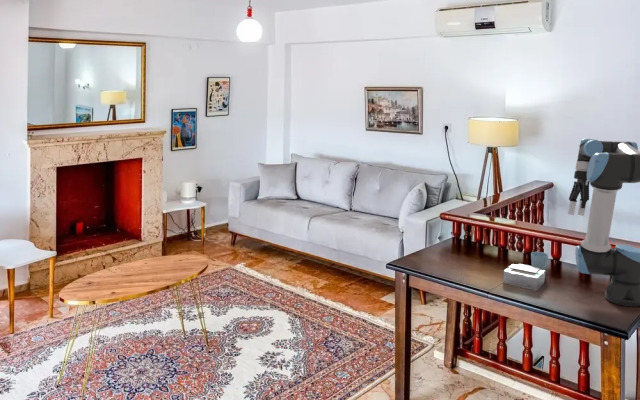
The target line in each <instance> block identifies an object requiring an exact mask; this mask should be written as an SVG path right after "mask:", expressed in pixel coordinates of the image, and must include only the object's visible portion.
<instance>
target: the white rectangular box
mask: <svg viewBox="0 0 640 400" xmlns="http://www.w3.org/2000/svg"><path fill="white" fill-rule="evenodd" d="M517 265H518V264H514V263H512V264H511V265H509V267H511V268H514V267H516V266H517ZM511 270H512V269H509V268H505V269H504V270H503V279H502V280H503V281H502V284H505V285H510V286H512V287H513V286H514V287H517V288H522V289H527V290H531V291H537V290H538V289H540V288H541V287H542V286H543V285H544V284H545V281H546V269H545V270H540V271H539V272H538V273H540V275H538V274H535V275H534V276H531V275H526V274H521V273H517V272H512V271H511Z"/></svg>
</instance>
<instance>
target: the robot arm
mask: <svg viewBox="0 0 640 400" xmlns="http://www.w3.org/2000/svg"><path fill="white" fill-rule="evenodd" d="M578 145H579V146H578V147H579V149H578V153H577V154H578V155H577V160H576V164H575V171H574V176H573V178H574V179H575V180H577V181H574V182H573V185H572V189H571V192H570V194H569V197H568V200H569V204H568V205H569V206H568V211H567V215H569V216H570V215H572V216H575V210H576V206H577V202H578V201H577V199H578V197H580V198H579V206H578V210H577V216H583V217H585V213H586V212H585V211H586V207H587V202H588V201H589V200H590V186H591V188H592V195H591V196H592V197H591V203H590V207H589V215H588V220H587V221H588V223H587V228H586V234H585V239H583V240H581V242H580V245H576V246H575V264H576V269H577V271H578V272H579V273H580V274H587V275H597V276H609V277H611V281H610V283H609V284H608V285H607V287H606V290H605V292H604V298H605V299H606V300H607V301H609V302H610V303H612V304H616V305H619V306H623V307H634V308H635V307H640V248H638V247H635V246H632V245H628V244H616V245H615V246H614V248H613V247H612V245H611V244H610V243H609V240H610V239H609V238H610V235H611V234H610V233H611V227H612V221H613V216H614V211H615V203H616V200H617V199H616V198H617V192H618V191H620V190H622V189H623V184H637V183H640V151H639V150H638V149H639V148H638V144H637V142H634V141H629V140H628V141H609V140H608V141H607V140H598V139H593V138H582V139H581V140H580V143H579V144H578ZM579 195H580V196H579Z"/></svg>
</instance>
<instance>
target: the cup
mask: <svg viewBox="0 0 640 400" xmlns="http://www.w3.org/2000/svg"><path fill="white" fill-rule="evenodd" d="M548 259H549V254H548V253H546V252H543V251H533V252H531V253H530V260H531V265H530V266H534V267H539V268H541V270H545V271H546V268H547V264H548Z"/></svg>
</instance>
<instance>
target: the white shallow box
mask: <svg viewBox="0 0 640 400" xmlns="http://www.w3.org/2000/svg"><path fill="white" fill-rule="evenodd" d="M516 265H517V266H516V267H514V268H511V267H510V266H507V268H509V269H512V270H511V271H512V272H517V273H521V274H526V275H531V276H534V275H535V274H538V275H540V273H538V272H539V271H540V270H541V268H539V267H534V266H532V265H529V264H523V263H518V264H516ZM507 268H506V269H507Z"/></svg>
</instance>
